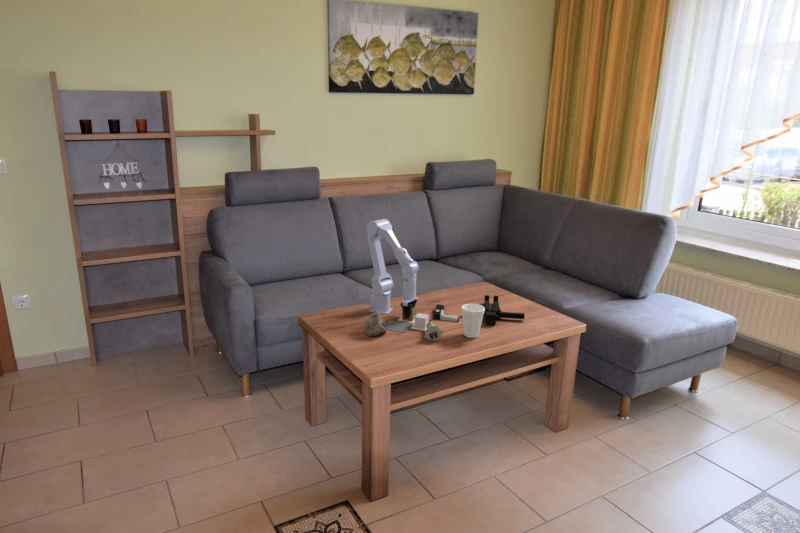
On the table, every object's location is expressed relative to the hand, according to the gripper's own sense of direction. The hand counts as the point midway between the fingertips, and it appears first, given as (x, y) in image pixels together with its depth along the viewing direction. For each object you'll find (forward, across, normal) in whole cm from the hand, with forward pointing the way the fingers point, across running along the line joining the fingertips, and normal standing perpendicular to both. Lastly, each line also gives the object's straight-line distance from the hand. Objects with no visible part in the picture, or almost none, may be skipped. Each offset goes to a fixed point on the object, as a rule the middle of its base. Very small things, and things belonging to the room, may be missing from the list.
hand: (408, 315), depth 259 cm
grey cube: (+1, -7, -8) cm, 11 cm away
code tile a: (+2, 0, 0) cm, 2 cm away
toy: (+2, +21, -36) cm, 42 cm away
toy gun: (+2, +11, -15) cm, 19 cm away
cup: (+2, -9, -31) cm, 32 cm away
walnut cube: (+1, 0, 0) cm, 1 cm away
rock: (+2, -22, +9) cm, 24 cm away
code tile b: (+2, -7, -8) cm, 11 cm away
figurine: (+2, -15, -16) cm, 22 cm away
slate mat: (+2, -11, +2) cm, 11 cm away
